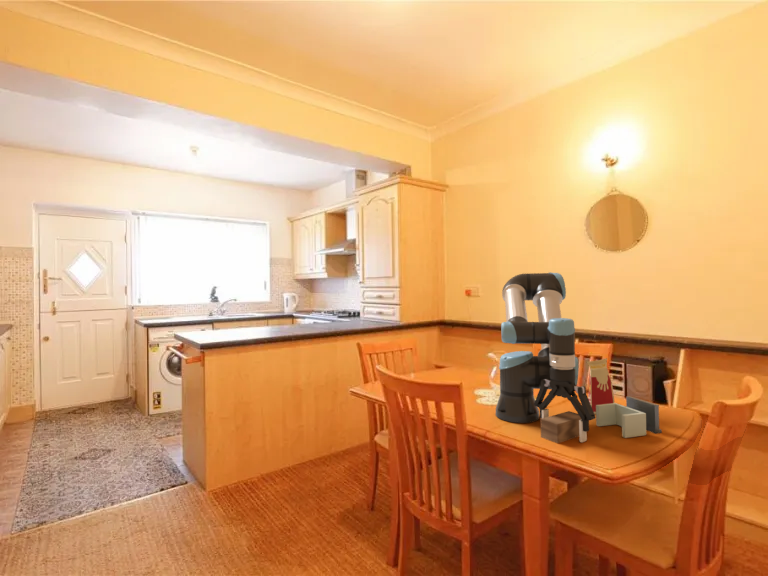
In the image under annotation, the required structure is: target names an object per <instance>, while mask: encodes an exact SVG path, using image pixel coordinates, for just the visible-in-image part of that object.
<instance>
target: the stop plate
mask: <svg viewBox="0 0 768 576" xmlns="http://www.w3.org/2000/svg"><path fill="white" fill-rule="evenodd" d="M625 399H626V403H625V406H626V407H629V408H632V409H635V410H638V411H641V412H643V413H646V432H647V431H648V432H650V433H652V434H655V435H656V434H663V433H662V429H661V428H660V405H659V404H657V403H654V402H650V401H647V400H644V399H641V398H638V397H635V396H631V395H626V398H625Z"/></svg>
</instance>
